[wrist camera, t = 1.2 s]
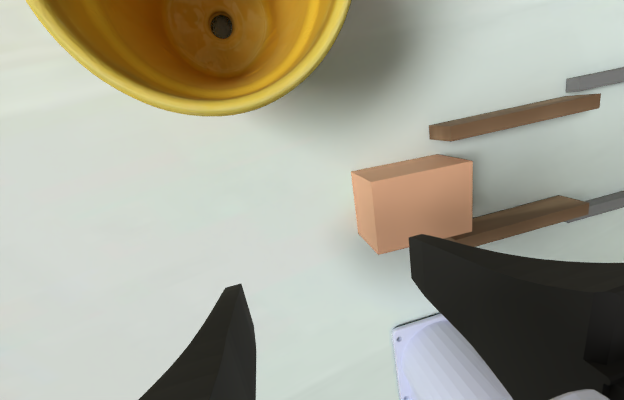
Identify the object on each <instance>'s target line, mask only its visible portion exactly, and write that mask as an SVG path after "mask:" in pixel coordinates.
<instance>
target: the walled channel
mask: <svg viewBox="0 0 624 400" xmlns="http://www.w3.org/2000/svg"><path fill="white" fill-rule="evenodd" d="M600 97H601V94H589V95H575V96H564V97H559V98H555V99H550V100H545V101H541V102H536V103H532V104H527V105H522V106H518V107H513V108H508V109H504V110H499V111H494V112H490V113H485V114H480V115H476V116H471V117H466V118H462V119H457V120H452V121H448V122H443V123H439V124H434V125H429V133H430V139H434V140H443V141H455V140H460V139H464V138H469V137H473V136H477V135H482V134H486V133H491V132H495V131H500V130H504V129H508V128H513V127H517V126H522V125H526V124H531V123H535V122H539V121H544V120H548V119H553V118H557V117H562V116H566V115H570V114H575V113H579V112H584V111H588V110H593V109H597V108H599V107H600ZM588 213H589V203H588V202H584V201H580V200H576V199H572V198H568V197H563V196H559V195H558V196H554V197H551V198H547V199H543V200H539V201H536V202H532V203H528V204H525V205H521V206H517V207H513V208H510V209H506V210H502V211H499V212H495V213H491V214H487V215H484V216H480V217H476V218H472V232H468V233H464V234H460V235H456V236H452V237H448V238H444V239H446V240H449V241H453V242H457V243H461V244H464V245H468V246H472V247H475V246H479V245H482V244H486V243H490V242H493V241H497V240H500V239H504V238H507V237H511V236H514V235H518V234H521V233H525V232H528V231H532V230H535V229H539V228H542V227H546V226H549V225H553V224H557V223H560V222H564V221H567V220H571V219H574V218H578V217H581V216H585V215H588Z"/></svg>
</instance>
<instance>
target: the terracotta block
mask: <svg viewBox="0 0 624 400" xmlns="http://www.w3.org/2000/svg"><path fill="white" fill-rule="evenodd" d="M351 176H352V184H353V193H354V201H355V209H356V218H357V226H358V234H359V235H360V236H361V237H362V238H363V239H364V240H365V241H366V242H367V243H368V244H369V245H370V246H371V247H372V248H373V250H374V251H375V252H376V253H377V254H378V255H379V254H383V253H387V252H391V251H395V250H399V249H404V248H408V247H409V237H412V236H416V235H420V234H425V235H430V236H434V237H438V238H442V239H444V238H448V237H452V236H456V235H460V234H464V233H468V232H472V176H473V161H470V160H465V159H459V158H454V157H449V156H444V155H438V154H436V155H431V156H426V157H421V158H416V159H411V160H406V161H401V162H396V163H391V164H386V165H381V166H376V167H371V168H366V169H362V170H357V171H352V172H351Z"/></svg>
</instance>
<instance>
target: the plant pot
mask: <svg viewBox="0 0 624 400" xmlns="http://www.w3.org/2000/svg"><path fill="white" fill-rule="evenodd" d="M26 2H27V3H28V5H29V6H30V8H31V9H32V11H33V12H34V13H35V15H36V16H37V18H38V19H39V21H40V22H41V23H42V24H43V26H44V27H45V28H46V29H47V31H48V32H49V33H50V34H51V35H52V36H53V37H54V39H55V40H56V41H57V42H58V43H59V44H60V45H61V46H62V47H63V48H64V49H65V50H66V51H67V52H68V53H69V54H70V55H71V56H72V57H73V58H75V59H76V60H77V61H78V62H79V63H80V64H81V65H83V66H84V67H85V68H86V69H88V70H89V71H90V72H91V73H93V74H94V75H95V76H97V77H98V78H100V79H101V80H103V81H104V82H106V83H107V84H109V85H111V86H112V87H114V88H116V89H117V90H119V91H121V92H123V93H125V94H127V95H129V96H131V97H133V98H135V99H137V100H139V101H141V102H144V103H146V104H149V105H151V106H154V107H157V108H160V109H164V110H167V111H171V112H176V113H181V114H187V115H196V116H228V115H235V114H241V113H245V112H249V111H252V110H256V109H258V108H261V107H263V106H266V105H268V104H270V103H272V102H274V101H276V100H278V99H279V98H281V97H283V96H284V95H286V94H287V93H289V92H290V91H291V90H293V89H294V88H296V87H297V86H298V85H299V84H300V83H302V82H303V81H304V80H305V79H306V78H307V77H308V76H309V75H310V74H311V73H312V72H313V71H314V70H315V69H316V68H317V67H318V65H319V64H320V63H321V62H322V60H323V59H324V58H325V56H326V55H327V53H328V52H329V50H330V49H331V47H332V45H333V44H334V42H335V40H336V38H337V36H338V34H339V32H340V30H341V28H342V26H343V24H344V21H345V18H346V16H347V13H348V10H349V7H350V3H351V0H26ZM218 15H224V16H226V17H228V18H229V19H230V21H231V22H232V27H233V28H232V33H231V35H230V36H229V37H228V38H225V39H221V38H218V37H216V36H215V35H214V34H213V32H212V30H211V21H212V20H213V18H214V17H216V16H218Z"/></svg>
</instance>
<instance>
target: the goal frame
mask: <svg viewBox="0 0 624 400" xmlns="http://www.w3.org/2000/svg"><path fill="white" fill-rule="evenodd" d="M619 82H624V67H622V68H617V69H613V70H608V71H603V72H598V73H593V74H588V75H583V76H579V77H574V78H569V79H567V84H566V92H575V91H582V90H587V89H591V88H596V87H601V86H605V85H610V84H615V83H619ZM585 202H588V203H589V213H588V215H585V216H581V217H578V218H574V219H571V220H567V221H564V222H567V223H570V222H573V221H577V220H580V219H584V218H587V217H591V216H594V215H598V214H601V213H605V212H608V211H612V210H615V209H619V208H622V207H624V191H621V192H618V193H614V194H610V195H607V196H603V197H599V198H596V199H592V200H589V201H585Z"/></svg>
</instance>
